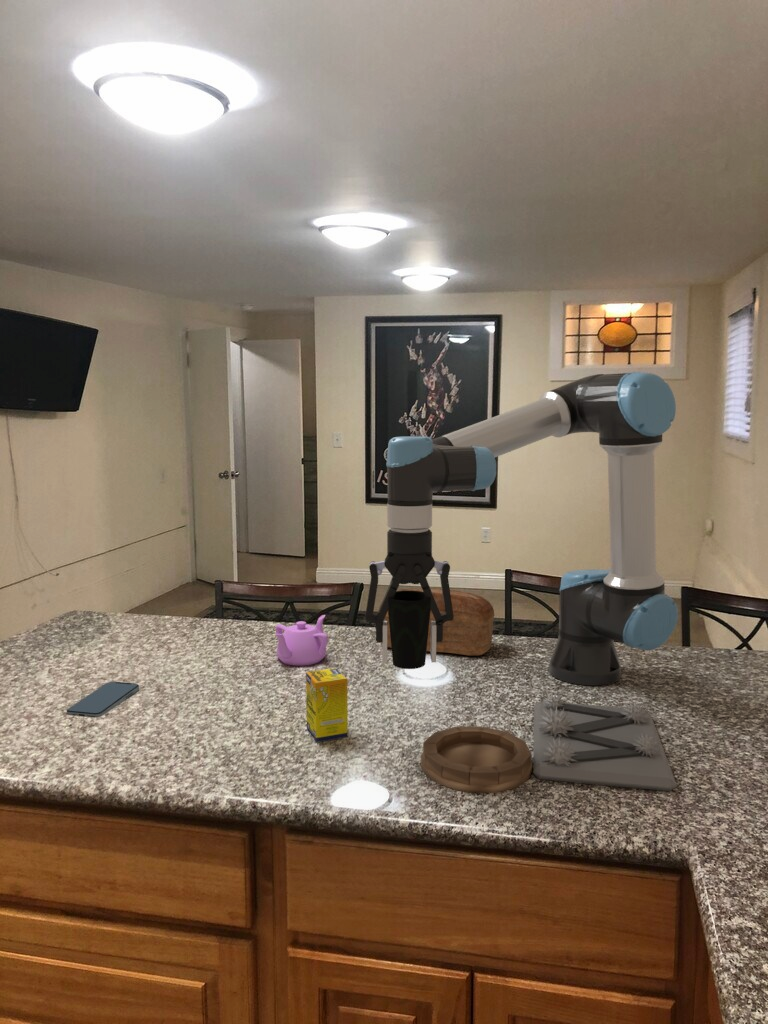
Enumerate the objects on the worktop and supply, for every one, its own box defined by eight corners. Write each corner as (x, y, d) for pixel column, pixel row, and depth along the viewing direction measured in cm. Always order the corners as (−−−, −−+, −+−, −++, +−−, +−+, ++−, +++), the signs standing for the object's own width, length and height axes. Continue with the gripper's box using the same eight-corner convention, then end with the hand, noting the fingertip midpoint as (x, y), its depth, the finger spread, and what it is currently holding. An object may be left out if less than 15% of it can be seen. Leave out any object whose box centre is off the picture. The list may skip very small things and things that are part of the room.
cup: (427, 672, 129) (427, 602, 127) (382, 669, 130) (382, 599, 129) (434, 658, 136) (434, 591, 134) (391, 655, 138) (391, 589, 136)
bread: (489, 661, 178) (490, 600, 176) (373, 650, 186) (373, 592, 184) (496, 646, 190) (498, 589, 188) (387, 636, 197) (387, 581, 196)
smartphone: (63, 710, 147) (108, 680, 161) (64, 718, 147) (108, 688, 162) (99, 713, 145) (141, 683, 160) (99, 722, 146) (141, 691, 160)
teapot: (325, 649, 187) (325, 613, 186) (329, 668, 173) (329, 630, 172) (275, 651, 185) (275, 615, 184) (275, 670, 171) (275, 632, 170)
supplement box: (305, 729, 140) (305, 671, 139) (337, 724, 143) (336, 667, 141) (316, 742, 135) (315, 682, 133) (348, 737, 137) (348, 677, 136)
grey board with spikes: (677, 797, 117) (679, 753, 116) (532, 784, 121) (534, 741, 120) (649, 719, 147) (651, 683, 146) (533, 710, 151) (535, 675, 150)
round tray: (519, 741, 136) (520, 725, 135) (543, 792, 118) (543, 773, 117) (417, 742, 135) (417, 725, 135) (425, 793, 117) (425, 774, 117)
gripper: (468, 525, 134) (466, 652, 137) (349, 525, 134) (350, 653, 137) (473, 532, 126) (471, 667, 129) (347, 532, 126) (348, 667, 129)
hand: (409, 659), depth 133 cm, fingers closed on cup, 8 cm apart
